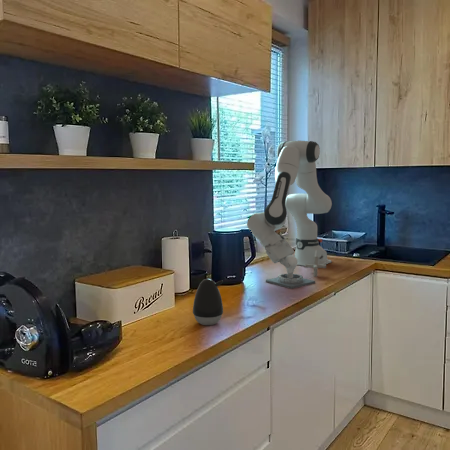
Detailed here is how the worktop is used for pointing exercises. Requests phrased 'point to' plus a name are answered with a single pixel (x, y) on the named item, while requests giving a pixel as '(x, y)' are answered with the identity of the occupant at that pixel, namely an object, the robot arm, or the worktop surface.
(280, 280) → the collar board
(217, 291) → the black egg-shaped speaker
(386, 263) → the worktop surface
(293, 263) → the lightbulb
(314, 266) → the pipe connector
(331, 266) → the worktop surface
